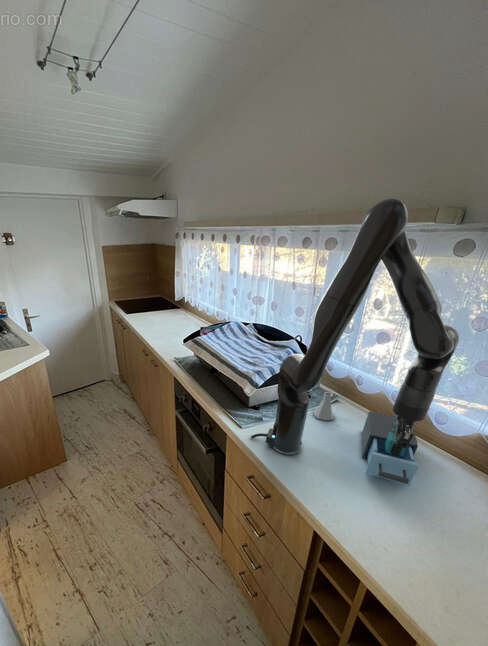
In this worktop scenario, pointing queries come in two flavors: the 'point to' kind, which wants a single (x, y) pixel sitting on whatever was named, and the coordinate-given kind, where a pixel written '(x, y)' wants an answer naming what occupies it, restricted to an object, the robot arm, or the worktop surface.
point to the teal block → (390, 443)
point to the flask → (325, 408)
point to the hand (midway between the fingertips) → (393, 448)
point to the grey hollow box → (380, 431)
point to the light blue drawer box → (390, 463)
